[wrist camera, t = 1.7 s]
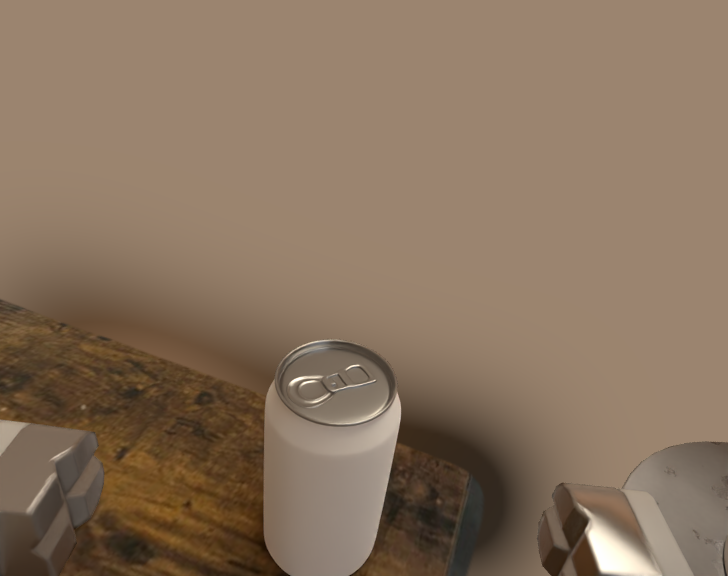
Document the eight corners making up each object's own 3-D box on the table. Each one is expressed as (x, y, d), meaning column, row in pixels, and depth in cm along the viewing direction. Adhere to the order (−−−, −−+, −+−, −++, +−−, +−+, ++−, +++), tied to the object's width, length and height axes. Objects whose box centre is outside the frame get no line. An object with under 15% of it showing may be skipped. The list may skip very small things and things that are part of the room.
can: (247, 508, 31) (243, 353, 24) (342, 468, 34) (361, 321, 27) (291, 611, 26) (302, 455, 20) (396, 554, 29) (435, 403, 23)
